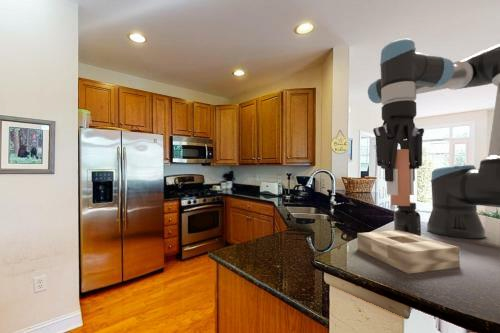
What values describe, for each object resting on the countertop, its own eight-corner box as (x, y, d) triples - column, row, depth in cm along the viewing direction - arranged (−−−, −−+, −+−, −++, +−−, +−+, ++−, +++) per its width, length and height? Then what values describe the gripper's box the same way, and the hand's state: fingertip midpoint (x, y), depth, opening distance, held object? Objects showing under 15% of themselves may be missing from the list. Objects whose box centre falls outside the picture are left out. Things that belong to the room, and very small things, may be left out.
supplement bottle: (426, 245, 67) (424, 204, 68) (400, 244, 69) (399, 203, 69) (414, 238, 74) (413, 201, 75) (391, 237, 76) (390, 201, 76)
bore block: (399, 245, 67) (399, 230, 67) (459, 267, 52) (459, 247, 52) (357, 249, 64) (357, 233, 64) (408, 273, 49) (407, 252, 49)
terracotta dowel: (400, 203, 61) (399, 150, 61) (414, 205, 57) (412, 149, 57) (387, 204, 60) (386, 150, 60) (400, 206, 56) (399, 149, 56)
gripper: (412, 109, 65) (414, 192, 64) (359, 105, 61) (360, 194, 60) (439, 101, 57) (442, 195, 57) (381, 96, 54) (383, 196, 53)
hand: (400, 194), depth 58 cm, fingers closed on terracotta dowel, 4 cm apart
